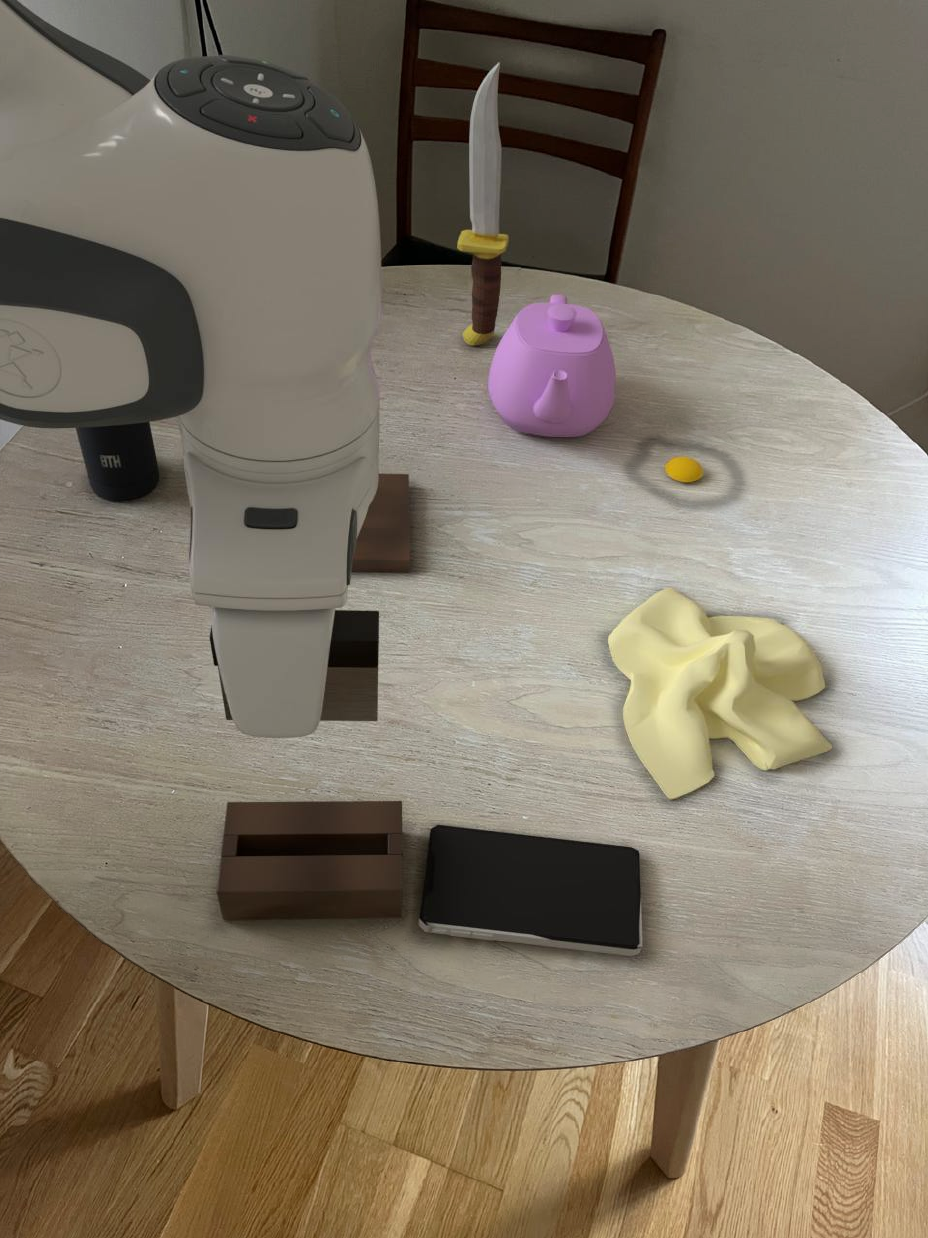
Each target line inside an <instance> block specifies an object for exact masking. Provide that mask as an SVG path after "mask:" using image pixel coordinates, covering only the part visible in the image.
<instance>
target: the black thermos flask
mask: <svg viewBox="0 0 928 1238" xmlns="http://www.w3.org/2000/svg"><path fill="white" fill-rule="evenodd" d="M75 431H76V435H77V440H78V443H79V447H80V451H81V455H82V458H83V459H82V460H83V461H84V466H85V471H86V474H87V477H88V482H89V486H90V488H91V490H92V492H93V493H94V494H95V495H96V496H97V497H99V498H100V499H102V500H106V501H108V502H112V503H113V502H114V503H128V502H130V503H131V502H134V501H137V500H141V499H144V497H147V496H148V495H150V494H151V493H153V491H155V489H156V488H157V487H158V485H159V483H160V478H161V477H160V469H159V465H158V459H157V453H156V449H155V444H154V437H153V432H152V428H151V422H144V423H135V424H125V425H113V426H99V427H82V428H75Z"/></svg>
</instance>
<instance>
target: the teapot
mask: <svg viewBox="0 0 928 1238" xmlns="http://www.w3.org/2000/svg"><path fill="white" fill-rule="evenodd" d="M489 367H490V368H489V373H488V379H487V386H488V387H487V389H488V394H489V397H490V401H491V403H492V406H493V407H494V409H495V411H496V413H497V414H498V416H499V417H500V419H501V420H502V421H503V422H504V423H505V424H506V425H507V426H508V427H509V428H511V429H512V430H515V431H517V432H521V433H524V434H529V435H536V436H540V437H541V436H542V437H550V438H551V437H552V438H577V437H582V436H583V437H584V436H585V435H587V434H589V433H591V432H593V431H594V430H595V429H596V428H598V427H599V426H600V425H601V424H602V423H603V422H604V421H605V420H606V418H607V417H608V415H609V413H610V411H611V410H612V407H613V405H614V401H615V396H616V367H615V359H614V356H613V351H612V348H611V345H610V341H609V338H608V336H607V332H606V330H605V327H604V326H603V323H602V321H601V319H600V317H599V316H598V314H597V313H595V312H594V311H593V310H592V309H589V308H588V307H584V306H580V305H575V304H568V297H567V296H566V295H563V294H552V295H551V296H550V297H549V302H532V303H530V304H528V305H525V306H524V307H523V308H522V309H521V310H520V311H519V312H518V313H517V315H516V316H515V317H514V319H513V320H512V322H511V324H510V325H509V326H508V328H507V329H506V331H505V333H504V334H503V336H502V338H501V339H500V341H499V343H498V345H497V347H496V350H495V352H494V354H493V358H492V360H491V364H490V366H489Z"/></svg>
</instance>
